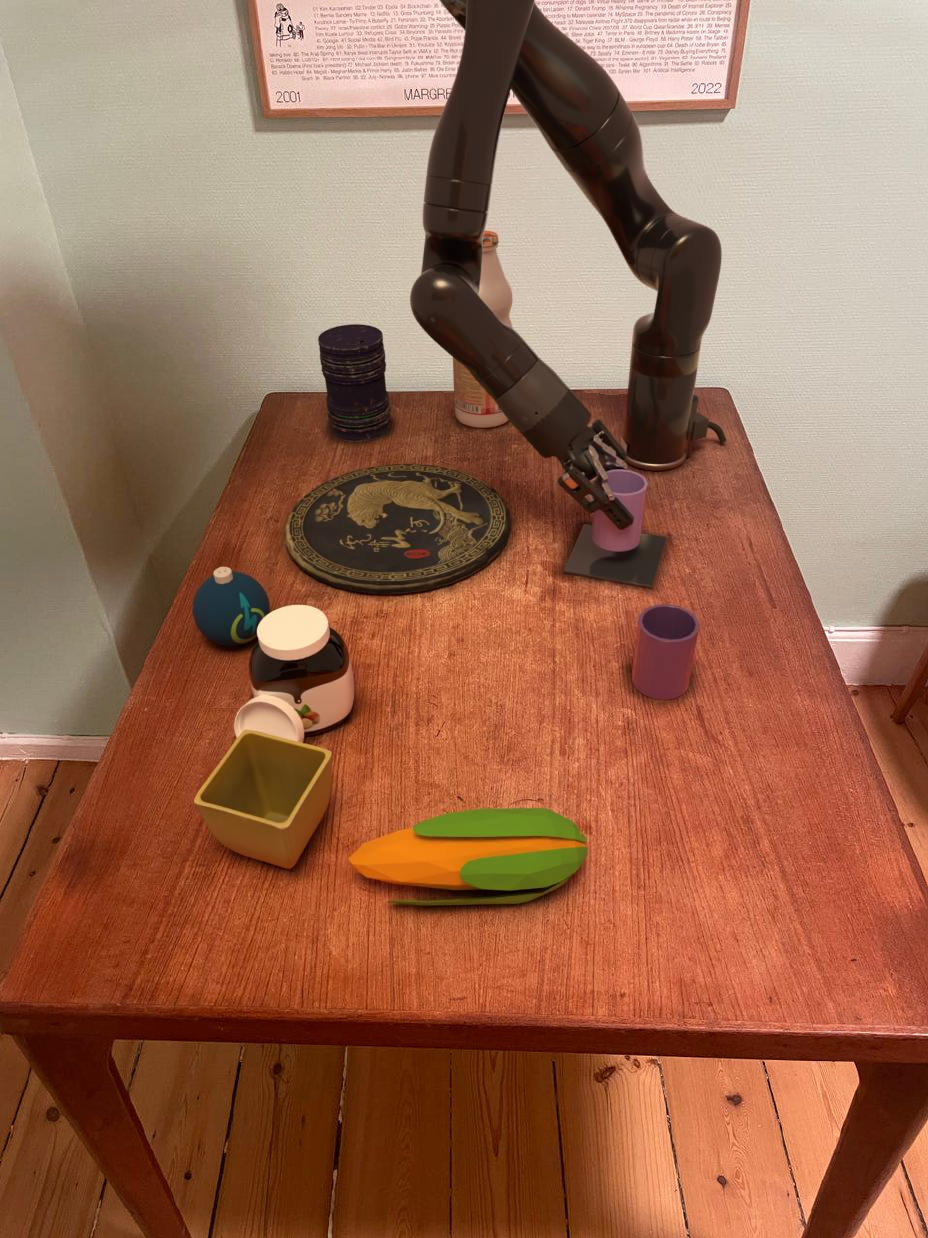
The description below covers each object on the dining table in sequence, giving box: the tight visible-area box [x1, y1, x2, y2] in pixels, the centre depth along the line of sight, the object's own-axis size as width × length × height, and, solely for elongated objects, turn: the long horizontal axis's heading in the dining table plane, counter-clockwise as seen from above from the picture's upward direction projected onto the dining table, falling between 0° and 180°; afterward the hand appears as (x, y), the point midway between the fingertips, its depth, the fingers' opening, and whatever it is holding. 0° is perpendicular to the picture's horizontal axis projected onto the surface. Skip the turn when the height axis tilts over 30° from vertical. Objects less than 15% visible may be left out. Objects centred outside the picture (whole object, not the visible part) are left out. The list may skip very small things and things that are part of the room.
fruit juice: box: [452, 230, 514, 429], centre depth 136 cm, size 9×9×28 cm
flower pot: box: [193, 730, 333, 870], centre depth 78 cm, size 9×9×9 cm
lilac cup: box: [591, 469, 649, 552], centre depth 109 cm, size 6×6×8 cm
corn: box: [347, 807, 589, 906], centre depth 74 cm, size 7×8×20 cm
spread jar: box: [233, 604, 355, 743], centre depth 88 cm, size 12×11×12 cm
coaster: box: [563, 523, 668, 590], centre depth 113 cm, size 11×11×1 cm
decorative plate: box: [284, 463, 511, 595], centre depth 119 cm, size 30×2×30 cm
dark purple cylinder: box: [317, 323, 392, 443], centre depth 138 cm, size 10×10×15 cm
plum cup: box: [631, 603, 700, 701], centre depth 93 cm, size 6×6×8 cm
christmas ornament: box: [192, 566, 271, 647], centre depth 100 cm, size 8×8×10 cm
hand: (633, 510), depth 108 cm, fingers closed on lilac cup, 6 cm apart
